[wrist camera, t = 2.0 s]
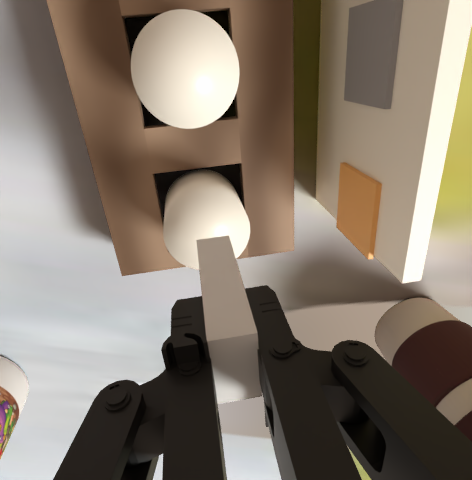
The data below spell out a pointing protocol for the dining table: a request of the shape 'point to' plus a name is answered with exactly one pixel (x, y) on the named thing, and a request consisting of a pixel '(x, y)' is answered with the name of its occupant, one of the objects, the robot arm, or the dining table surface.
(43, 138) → the dining table surface
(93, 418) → the robot arm
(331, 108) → the pattern card
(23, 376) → the milk bottle
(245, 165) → the button board
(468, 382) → the coffee cup
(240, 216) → the button
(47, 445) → the dining table surface
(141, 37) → the button
